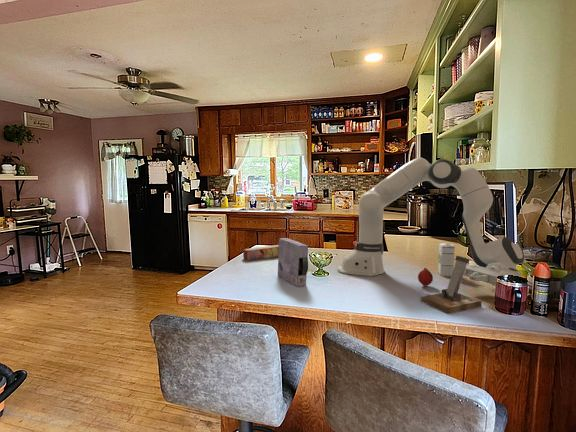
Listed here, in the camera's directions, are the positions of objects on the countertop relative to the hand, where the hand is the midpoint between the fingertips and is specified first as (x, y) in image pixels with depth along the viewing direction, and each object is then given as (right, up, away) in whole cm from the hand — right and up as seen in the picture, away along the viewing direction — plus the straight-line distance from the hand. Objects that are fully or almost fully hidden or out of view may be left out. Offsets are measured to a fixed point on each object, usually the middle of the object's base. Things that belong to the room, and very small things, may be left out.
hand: (472, 278), depth 125 cm
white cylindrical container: (+6, -5, +34) cm, 35 cm away
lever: (-10, -5, -4) cm, 12 cm away
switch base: (-10, -9, -3) cm, 14 cm away
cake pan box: (-67, -6, +23) cm, 71 cm away
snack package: (-83, -1, +65) cm, 105 cm away
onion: (-11, -7, +17) cm, 21 cm away
